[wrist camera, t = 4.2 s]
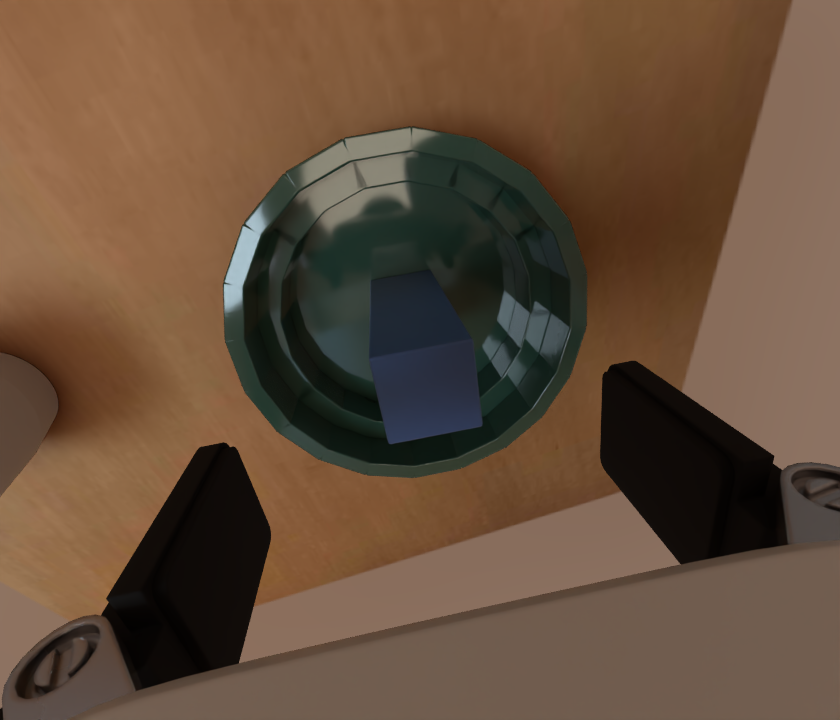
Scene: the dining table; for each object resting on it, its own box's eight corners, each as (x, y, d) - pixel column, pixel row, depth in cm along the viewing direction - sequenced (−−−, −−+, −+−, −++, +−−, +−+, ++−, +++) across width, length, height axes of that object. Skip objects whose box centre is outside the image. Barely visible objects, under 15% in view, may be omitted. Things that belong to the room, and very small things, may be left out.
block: (430, 269, 22) (473, 338, 12) (439, 326, 23) (483, 427, 14) (369, 280, 21) (368, 358, 12) (381, 337, 23) (388, 446, 14)
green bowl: (539, 113, 20) (590, 95, 15) (548, 397, 26) (586, 444, 22) (208, 170, 19) (158, 169, 15) (302, 445, 26) (287, 504, 21)
